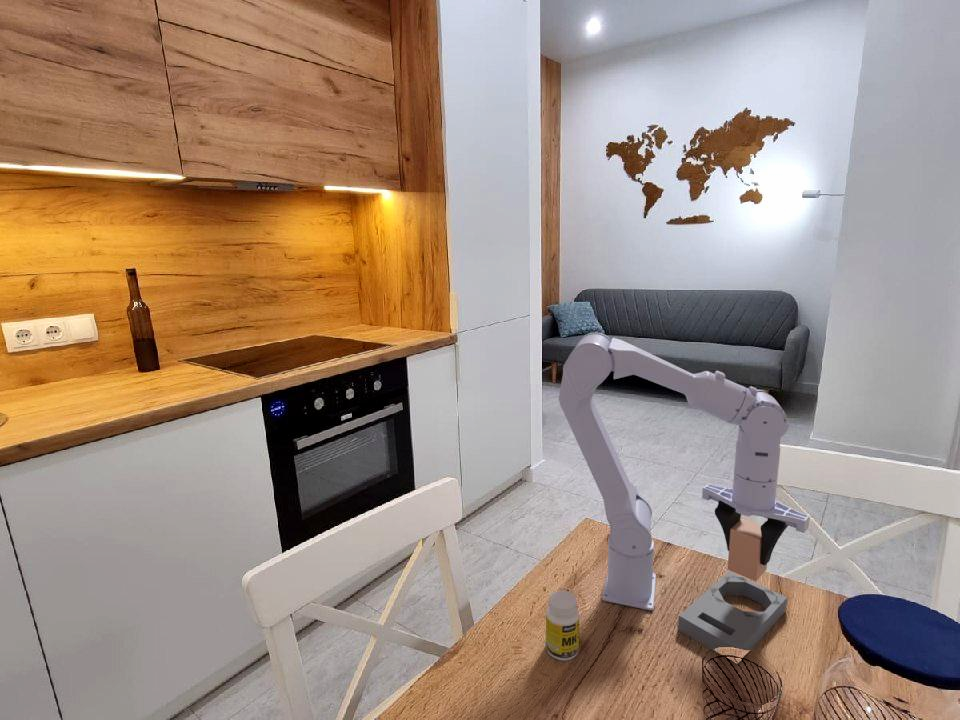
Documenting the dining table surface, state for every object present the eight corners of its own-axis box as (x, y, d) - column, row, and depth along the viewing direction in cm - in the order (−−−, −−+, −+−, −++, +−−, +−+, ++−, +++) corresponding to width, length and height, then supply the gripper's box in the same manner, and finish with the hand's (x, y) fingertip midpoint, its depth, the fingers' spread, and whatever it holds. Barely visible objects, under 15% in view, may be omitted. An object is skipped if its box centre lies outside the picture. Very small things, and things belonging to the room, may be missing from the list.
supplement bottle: (563, 667, 73) (563, 615, 71) (539, 648, 76) (538, 598, 74) (585, 649, 76) (586, 599, 74) (561, 632, 79) (561, 583, 77)
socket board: (737, 665, 72) (739, 649, 71) (677, 629, 79) (678, 615, 78) (785, 611, 82) (787, 597, 81) (728, 583, 89) (729, 570, 88)
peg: (727, 569, 81) (730, 528, 79) (738, 557, 84) (741, 518, 82) (755, 581, 78) (759, 539, 76) (766, 569, 81) (770, 528, 79)
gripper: (695, 467, 80) (690, 546, 83) (801, 499, 69) (791, 589, 72) (715, 454, 84) (710, 529, 87) (817, 482, 74) (807, 566, 77)
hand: (748, 555), depth 80 cm, fingers closed on peg, 4 cm apart
